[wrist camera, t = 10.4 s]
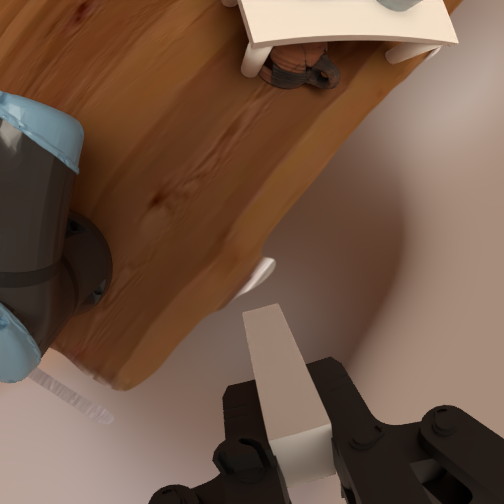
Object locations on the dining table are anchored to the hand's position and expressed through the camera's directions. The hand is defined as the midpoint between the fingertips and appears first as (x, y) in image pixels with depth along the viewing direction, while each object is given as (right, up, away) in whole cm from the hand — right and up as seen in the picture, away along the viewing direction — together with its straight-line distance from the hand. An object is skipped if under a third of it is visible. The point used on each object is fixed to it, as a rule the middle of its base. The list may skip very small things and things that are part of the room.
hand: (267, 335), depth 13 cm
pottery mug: (+5, +29, +23) cm, 37 cm away
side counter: (+8, +35, +21) cm, 42 cm away
